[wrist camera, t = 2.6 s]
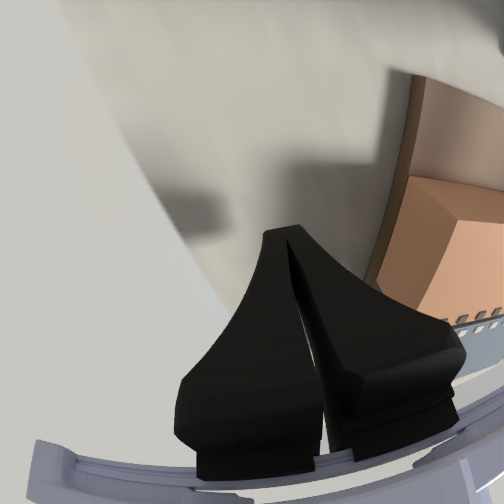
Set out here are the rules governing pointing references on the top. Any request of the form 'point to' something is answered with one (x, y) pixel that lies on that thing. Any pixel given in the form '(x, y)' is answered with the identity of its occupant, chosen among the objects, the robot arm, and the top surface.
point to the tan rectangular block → (447, 251)
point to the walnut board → (443, 149)
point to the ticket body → (479, 342)
